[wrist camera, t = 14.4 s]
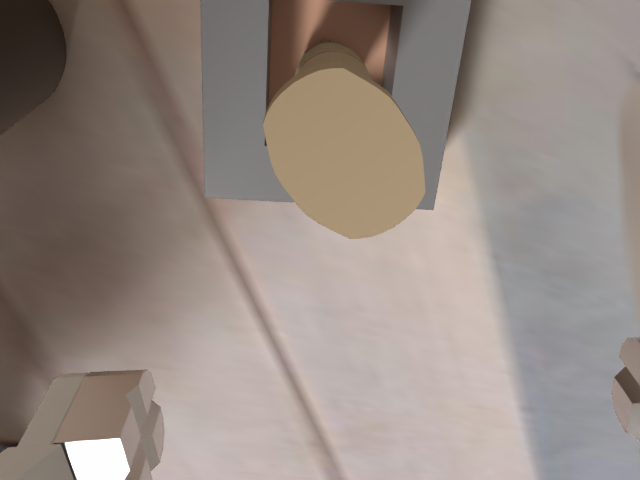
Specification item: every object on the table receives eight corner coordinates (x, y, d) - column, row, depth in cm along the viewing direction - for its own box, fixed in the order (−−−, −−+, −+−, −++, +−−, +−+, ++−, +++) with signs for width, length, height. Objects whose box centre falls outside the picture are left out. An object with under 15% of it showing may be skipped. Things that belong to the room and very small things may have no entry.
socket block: (419, 179, 38) (433, 210, 34) (214, 168, 37) (204, 197, 33) (459, -66, 31) (482, -64, 27) (211, -87, 30) (198, -88, 26)
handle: (332, -9, 32) (354, 39, 19) (393, 89, 34) (451, 192, 21) (260, 44, 33) (234, 124, 20) (325, 134, 36) (339, 259, 22)
